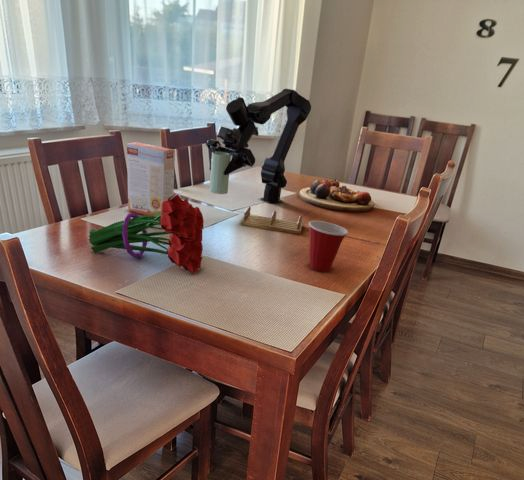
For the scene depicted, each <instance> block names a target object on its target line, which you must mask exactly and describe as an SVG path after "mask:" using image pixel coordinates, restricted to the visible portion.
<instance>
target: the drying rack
mask: <svg viewBox="0 0 524 480" xmlns="http://www.w3.org/2000/svg"><path fill="white" fill-rule="evenodd" d="M251 209H252V208H251V206H248V207H247V209H246V210H245V212H244V213H243V218H242V220H241V221H240V222H241V223H240V225H241V226H247V227H253V228H260V229H266V230H272V231H277V232H284V233H290V234H296V235H301V233H302V228H303V223H304V222H302V221H303V215H302V214H299V216H298V221H291V220H290V221H289V220H284V219H279V218H277V211H276V210H273V212H272V215H271V217H267V216H260V215H256V214H255V215H254V214H251Z"/></svg>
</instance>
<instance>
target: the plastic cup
mask: <svg viewBox="0 0 524 480" xmlns="http://www.w3.org/2000/svg"><path fill="white" fill-rule="evenodd" d="M308 225H309V251H308V252H309V253H308V255H309V268H310V269H312V270H314V271H317V272H323V273H325V272H329V271H330V270H331V268H332V266H333V263H334V261H335V259H336V257H337V254H338V251H339V249H340V247H341V245H342V242H343V240H344V238H345V237H346V236H347V235H348V233H349V231H348V230H347V228H345V227H343V226H340V225H338V224H335V223H332V222H328V221H323V220H309V222H308Z"/></svg>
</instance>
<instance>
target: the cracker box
mask: <svg viewBox="0 0 524 480" xmlns="http://www.w3.org/2000/svg"><path fill="white" fill-rule="evenodd" d="M175 156H176V150H175V149H172V148H167V147H163V146H159V145H153V144H148V143H144V142H139V141H135V142H128V143H126V162H127V163H126V168H127V170H126V171H127V172H126V173H127V210H128V211H129V212H131V213H136V214H138V215H142V216H144V215H152V216H159V215H160V214H162V213H161V212H162V202H163V201H165V200H167V199H168V198H170V197H171V196H173V197H175V162H176V161H175V160H176V159H175ZM173 197H172V198H173ZM172 198H171V199H172ZM171 199H170V200H171Z"/></svg>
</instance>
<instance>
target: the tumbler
mask: <svg viewBox="0 0 524 480" xmlns="http://www.w3.org/2000/svg"><path fill="white" fill-rule="evenodd" d="M231 159H232V156H231V154H229V153H226V152H212V153H211V160H212V161H211V160H210V164H211V171H210V179H209V180H210V181H209V192H210V193H212V194H215V195H216V194H217V195H226V194H228V192H229V182H230V181H229V180H230V173H229V174H227V175H224V171H225V169H226V168H227V166H228V164H229V163H230V161H231Z"/></svg>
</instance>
